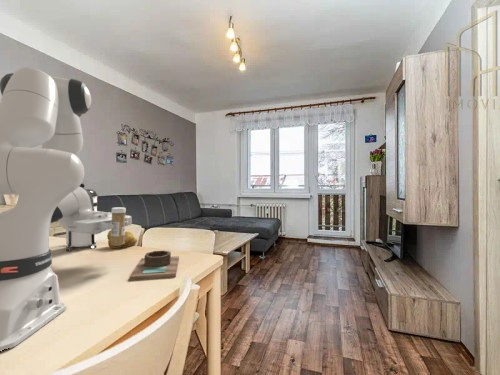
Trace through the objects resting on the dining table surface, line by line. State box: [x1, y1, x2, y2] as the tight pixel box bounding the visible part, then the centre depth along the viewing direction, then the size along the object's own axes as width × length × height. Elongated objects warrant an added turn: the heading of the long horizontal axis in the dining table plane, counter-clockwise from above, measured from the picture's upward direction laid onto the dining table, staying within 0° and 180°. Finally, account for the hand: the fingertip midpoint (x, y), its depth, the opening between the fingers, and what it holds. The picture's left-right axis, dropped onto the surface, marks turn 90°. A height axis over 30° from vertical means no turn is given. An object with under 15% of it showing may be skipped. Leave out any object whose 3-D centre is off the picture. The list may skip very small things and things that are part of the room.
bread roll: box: [107, 229, 138, 249], centre depth 119 cm, size 13×10×8 cm
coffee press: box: [65, 183, 99, 252], centre depth 117 cm, size 17×16×30 cm
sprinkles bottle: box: [110, 206, 127, 246], centre depth 91 cm, size 5×5×14 cm
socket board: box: [129, 250, 180, 281], centre depth 89 cm, size 19×14×5 cm
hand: (120, 224), depth 90 cm, fingers closed on sprinkles bottle, 4 cm apart
